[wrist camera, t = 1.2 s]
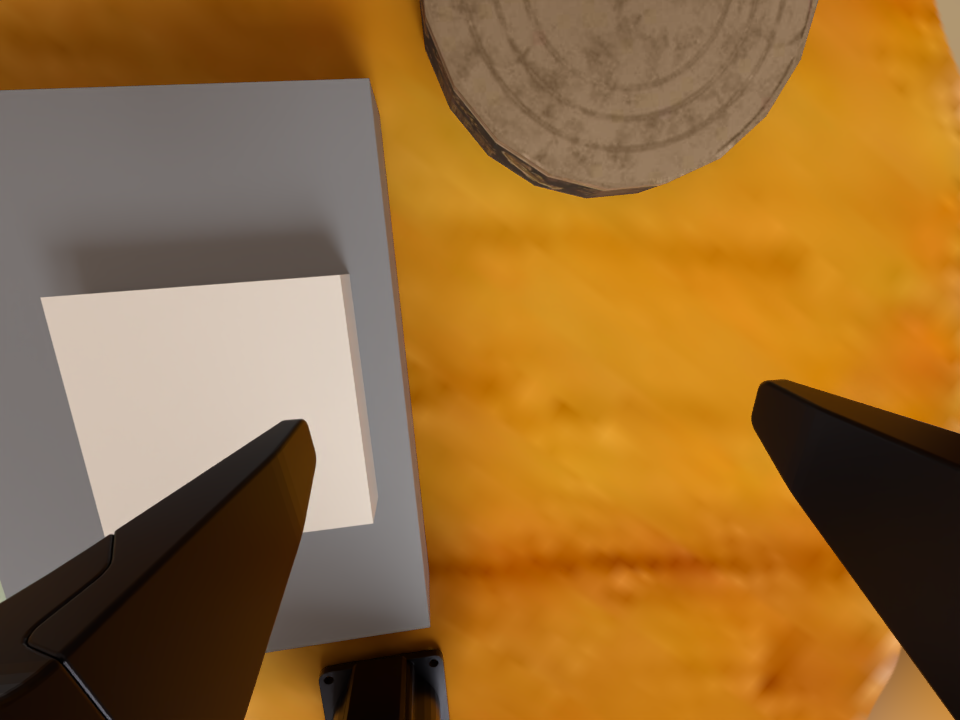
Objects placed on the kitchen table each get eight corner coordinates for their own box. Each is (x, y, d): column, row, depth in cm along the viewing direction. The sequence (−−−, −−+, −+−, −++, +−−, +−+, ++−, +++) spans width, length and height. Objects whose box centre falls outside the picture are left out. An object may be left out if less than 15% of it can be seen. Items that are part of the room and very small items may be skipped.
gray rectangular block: (429, 569, 24) (430, 627, 20) (101, 615, 23) (35, 688, 19) (379, 115, 20) (368, 78, 16) (-35, 132, 18) (-160, 95, 14)
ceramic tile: (378, 496, 19) (373, 523, 17) (144, 526, 18) (110, 557, 16) (349, 274, 17) (339, 275, 15) (86, 293, 16) (40, 297, 14)
